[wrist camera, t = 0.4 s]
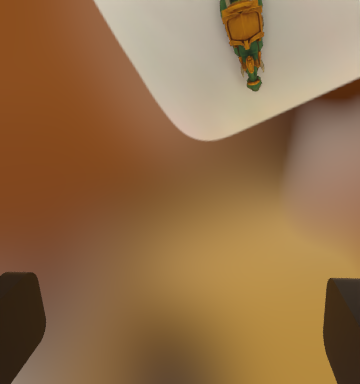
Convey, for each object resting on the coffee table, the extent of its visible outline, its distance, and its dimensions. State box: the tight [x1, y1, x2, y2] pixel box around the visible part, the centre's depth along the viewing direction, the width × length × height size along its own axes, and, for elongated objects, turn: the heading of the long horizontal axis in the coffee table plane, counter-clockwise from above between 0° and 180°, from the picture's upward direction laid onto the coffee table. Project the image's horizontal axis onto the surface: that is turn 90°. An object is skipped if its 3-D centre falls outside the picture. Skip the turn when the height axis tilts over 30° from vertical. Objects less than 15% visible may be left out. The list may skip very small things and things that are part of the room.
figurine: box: [220, 0, 264, 91], centre depth 25 cm, size 3×12×8 cm, turn 17°
